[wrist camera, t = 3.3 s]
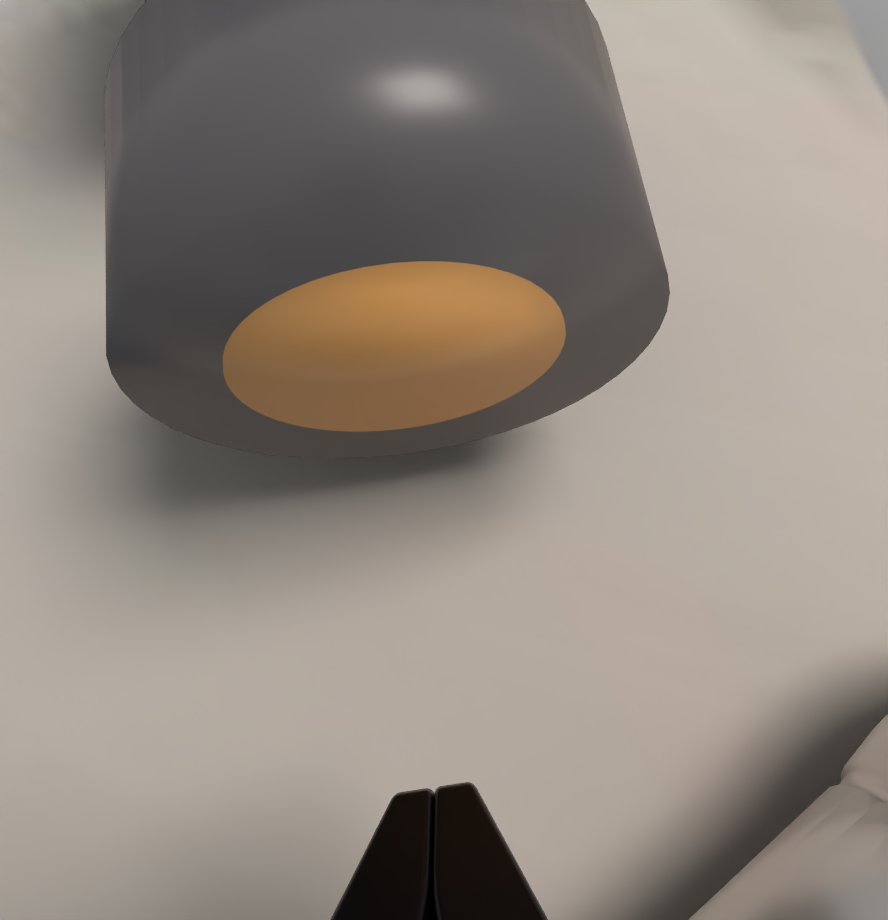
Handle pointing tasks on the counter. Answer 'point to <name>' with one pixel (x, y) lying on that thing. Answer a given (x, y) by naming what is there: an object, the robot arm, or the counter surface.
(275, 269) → the knob
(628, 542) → the counter surface
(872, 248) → the counter surface
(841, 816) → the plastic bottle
